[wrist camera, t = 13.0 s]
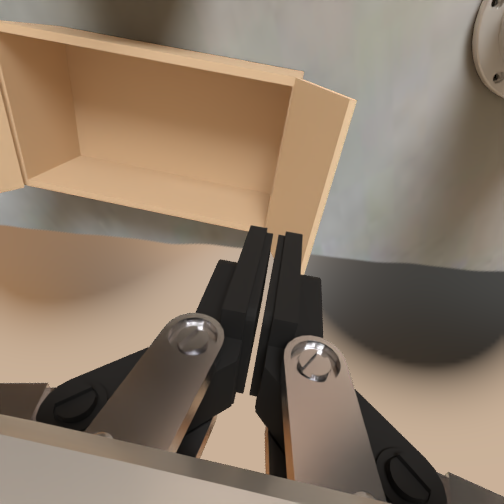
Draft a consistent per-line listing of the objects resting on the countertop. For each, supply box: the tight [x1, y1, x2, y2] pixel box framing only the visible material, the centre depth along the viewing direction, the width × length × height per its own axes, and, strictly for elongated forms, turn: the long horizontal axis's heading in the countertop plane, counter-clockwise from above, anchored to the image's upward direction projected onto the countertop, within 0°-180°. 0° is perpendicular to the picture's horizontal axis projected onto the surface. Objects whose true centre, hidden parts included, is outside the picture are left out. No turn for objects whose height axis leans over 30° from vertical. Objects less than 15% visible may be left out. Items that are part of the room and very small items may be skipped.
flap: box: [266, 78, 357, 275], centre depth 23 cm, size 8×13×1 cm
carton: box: [0, 20, 304, 232], centre depth 31 cm, size 24×13×9 cm, turn 81°
